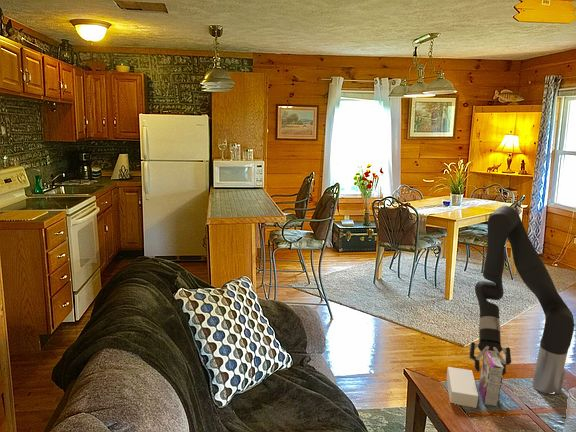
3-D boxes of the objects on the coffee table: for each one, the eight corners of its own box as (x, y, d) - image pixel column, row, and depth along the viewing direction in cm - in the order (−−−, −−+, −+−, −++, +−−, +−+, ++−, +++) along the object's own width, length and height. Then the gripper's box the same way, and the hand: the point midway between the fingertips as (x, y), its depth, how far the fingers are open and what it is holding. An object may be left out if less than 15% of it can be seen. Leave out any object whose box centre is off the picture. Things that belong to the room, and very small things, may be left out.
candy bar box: (477, 386, 181) (483, 348, 176) (491, 388, 180) (497, 350, 176) (483, 405, 170) (489, 365, 166) (497, 407, 170) (504, 367, 165)
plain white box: (470, 381, 184) (472, 370, 182) (476, 407, 169) (478, 395, 167) (446, 377, 186) (447, 366, 184) (450, 403, 171) (451, 391, 169)
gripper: (472, 324, 180) (471, 368, 172) (512, 330, 177) (513, 374, 169) (468, 330, 186) (467, 372, 179) (506, 336, 183) (508, 378, 176)
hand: (490, 373), depth 174 cm, fingers open, 8 cm apart
